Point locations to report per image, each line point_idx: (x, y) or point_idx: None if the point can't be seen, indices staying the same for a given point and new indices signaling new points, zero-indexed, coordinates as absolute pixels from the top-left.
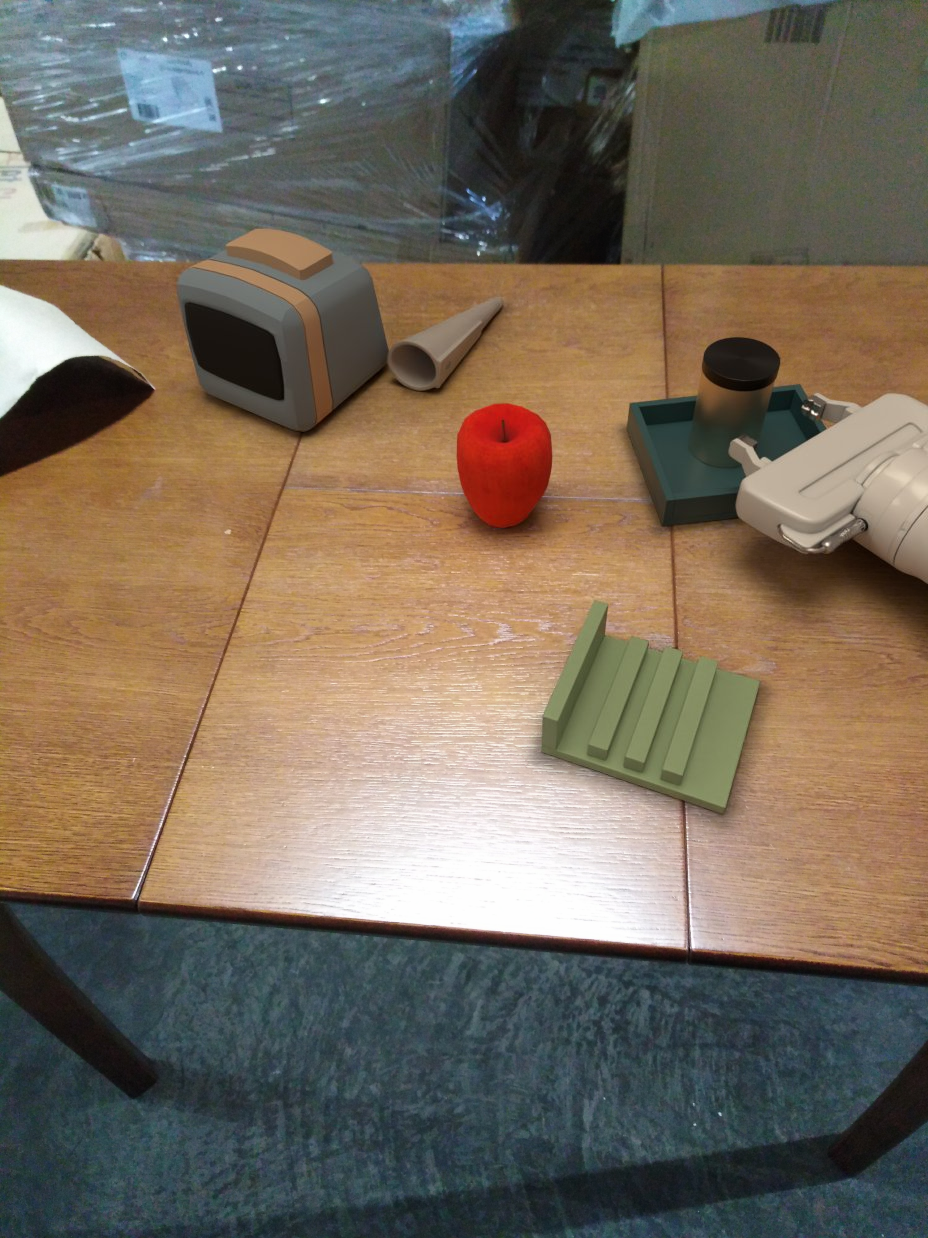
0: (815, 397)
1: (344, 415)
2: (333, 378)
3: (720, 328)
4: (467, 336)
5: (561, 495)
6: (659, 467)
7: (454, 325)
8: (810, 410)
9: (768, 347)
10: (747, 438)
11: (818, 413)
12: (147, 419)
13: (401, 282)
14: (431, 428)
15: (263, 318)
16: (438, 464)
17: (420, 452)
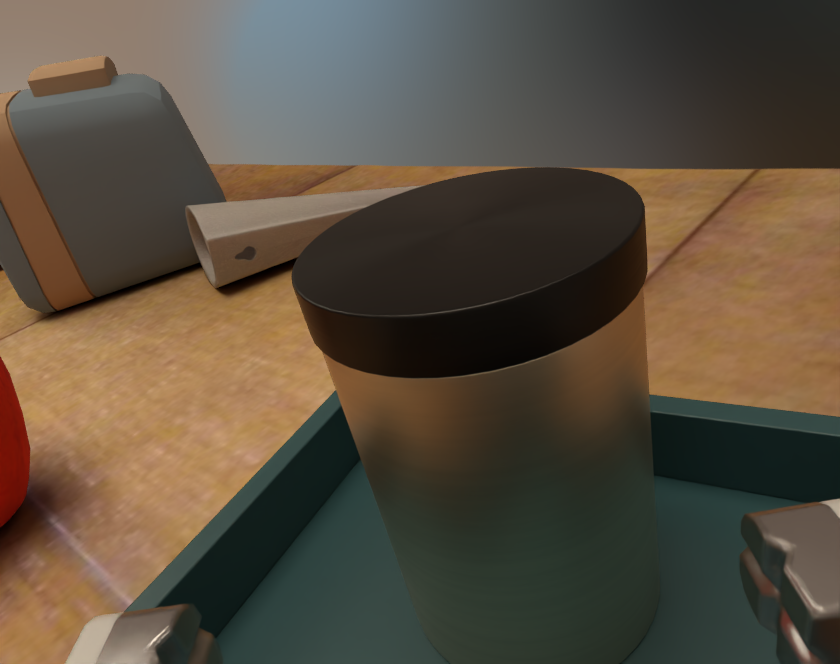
0: (823, 529)
1: (111, 303)
2: (75, 244)
3: (819, 257)
4: (311, 219)
5: (83, 541)
6: (174, 575)
7: (301, 201)
8: (781, 605)
9: (625, 199)
10: (142, 645)
11: (820, 661)
12: (2, 276)
13: (381, 174)
14: (147, 341)
15: None
16: (66, 399)
17: (83, 373)
